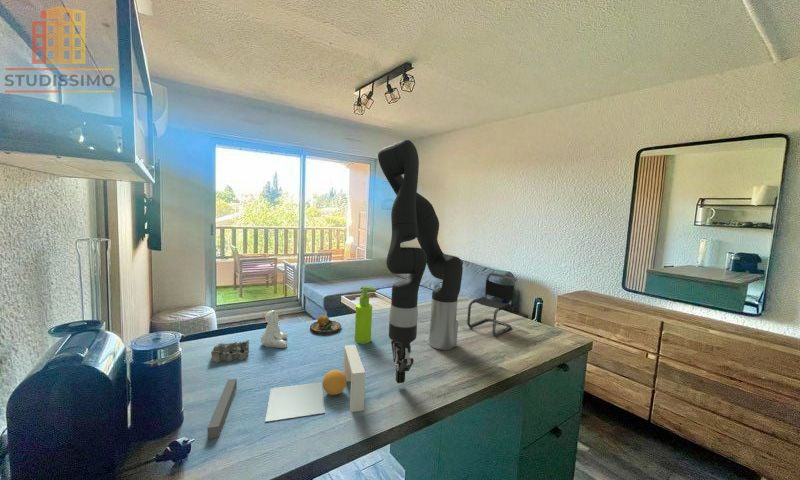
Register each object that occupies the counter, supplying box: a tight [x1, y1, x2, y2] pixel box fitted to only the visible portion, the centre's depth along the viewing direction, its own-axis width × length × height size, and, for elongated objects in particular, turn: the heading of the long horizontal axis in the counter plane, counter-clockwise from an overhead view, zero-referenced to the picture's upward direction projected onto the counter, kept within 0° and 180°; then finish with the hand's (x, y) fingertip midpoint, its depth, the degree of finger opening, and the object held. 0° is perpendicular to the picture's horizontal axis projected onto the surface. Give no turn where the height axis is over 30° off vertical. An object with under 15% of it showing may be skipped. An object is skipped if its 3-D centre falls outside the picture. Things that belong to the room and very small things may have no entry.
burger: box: [309, 314, 342, 336], centre depth 120 cm, size 12×12×8 cm
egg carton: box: [210, 340, 250, 363], centre depth 96 cm, size 10×7×4 cm
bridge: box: [343, 344, 366, 413], centre depth 80 cm, size 3×15×10 cm, turn 18°
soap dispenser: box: [354, 286, 377, 345], centre depth 111 cm, size 6×7×20 cm
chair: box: [466, 272, 518, 337], centre depth 130 cm, size 13×17×22 cm
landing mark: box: [264, 381, 326, 423], centre depth 76 cm, size 13×13×1 cm
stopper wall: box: [207, 378, 238, 440], centre depth 71 cm, size 2×18×2 cm, turn 18°
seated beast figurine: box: [260, 309, 288, 349], centre depth 105 cm, size 10×9×12 cm
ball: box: [322, 369, 347, 396], centre depth 80 cm, size 6×6×6 cm
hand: (400, 381), depth 84 cm, fingers closed
